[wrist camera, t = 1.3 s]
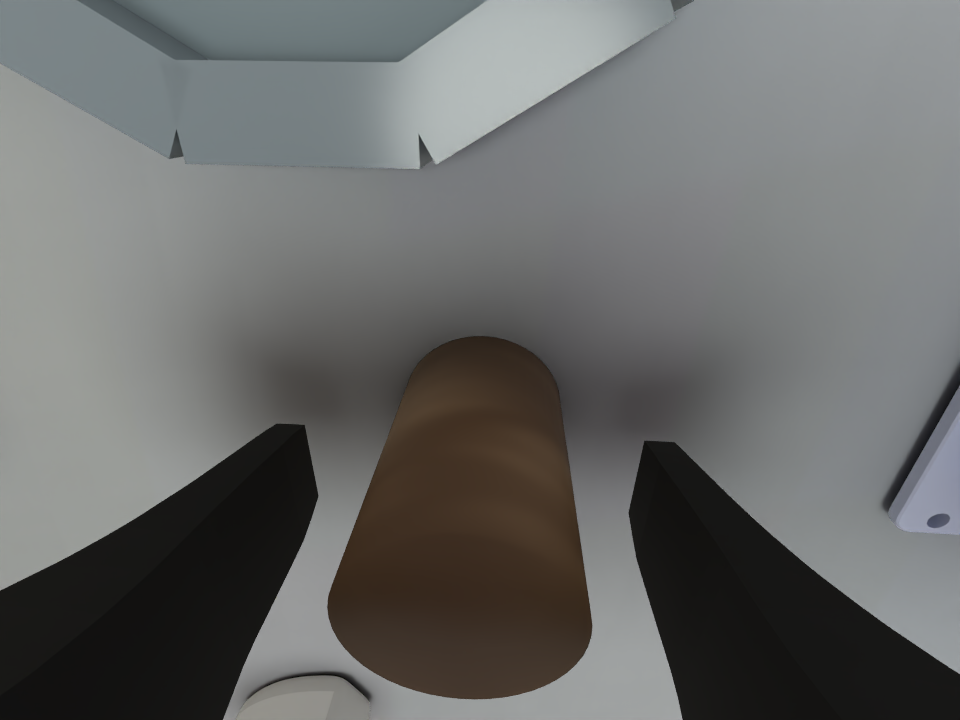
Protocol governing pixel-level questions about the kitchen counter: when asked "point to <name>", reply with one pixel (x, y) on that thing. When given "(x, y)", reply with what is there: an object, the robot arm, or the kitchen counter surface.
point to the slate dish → (315, 70)
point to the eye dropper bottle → (307, 700)
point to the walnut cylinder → (468, 534)
